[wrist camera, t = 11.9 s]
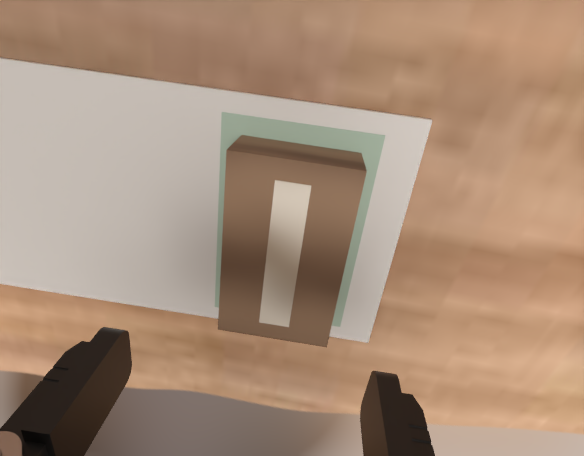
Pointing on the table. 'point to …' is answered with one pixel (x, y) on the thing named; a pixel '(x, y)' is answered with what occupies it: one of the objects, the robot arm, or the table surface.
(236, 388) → the table surface
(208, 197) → the white flat board
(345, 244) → the walnut tile
